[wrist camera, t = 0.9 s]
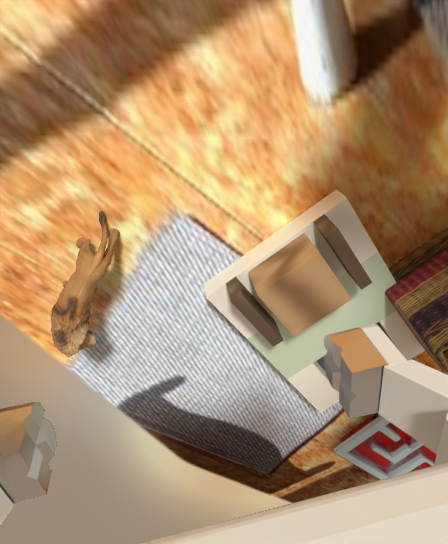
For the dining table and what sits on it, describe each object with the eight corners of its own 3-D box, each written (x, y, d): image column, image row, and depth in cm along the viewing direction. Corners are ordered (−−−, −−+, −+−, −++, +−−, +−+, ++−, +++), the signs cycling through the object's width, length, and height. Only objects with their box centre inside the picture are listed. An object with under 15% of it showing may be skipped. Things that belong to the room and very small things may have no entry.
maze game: (328, 437, 73) (334, 453, 70) (416, 373, 67) (427, 387, 65) (419, 492, 89) (428, 507, 86) (497, 444, 83) (509, 458, 81)
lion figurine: (100, 317, 51) (91, 366, 44) (56, 309, 50) (39, 359, 42) (125, 214, 45) (119, 251, 37) (75, 202, 43) (59, 238, 35)
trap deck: (336, 188, 47) (346, 197, 44) (421, 333, 62) (433, 345, 59) (203, 284, 51) (205, 297, 48) (313, 398, 66) (320, 413, 63)
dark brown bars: (324, 213, 45) (338, 228, 42) (357, 265, 49) (372, 282, 46) (225, 283, 48) (231, 302, 44) (265, 326, 52) (273, 347, 49)
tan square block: (304, 232, 46) (319, 252, 42) (335, 276, 50) (352, 299, 46) (248, 272, 47) (257, 295, 43) (282, 311, 51) (294, 336, 47)
